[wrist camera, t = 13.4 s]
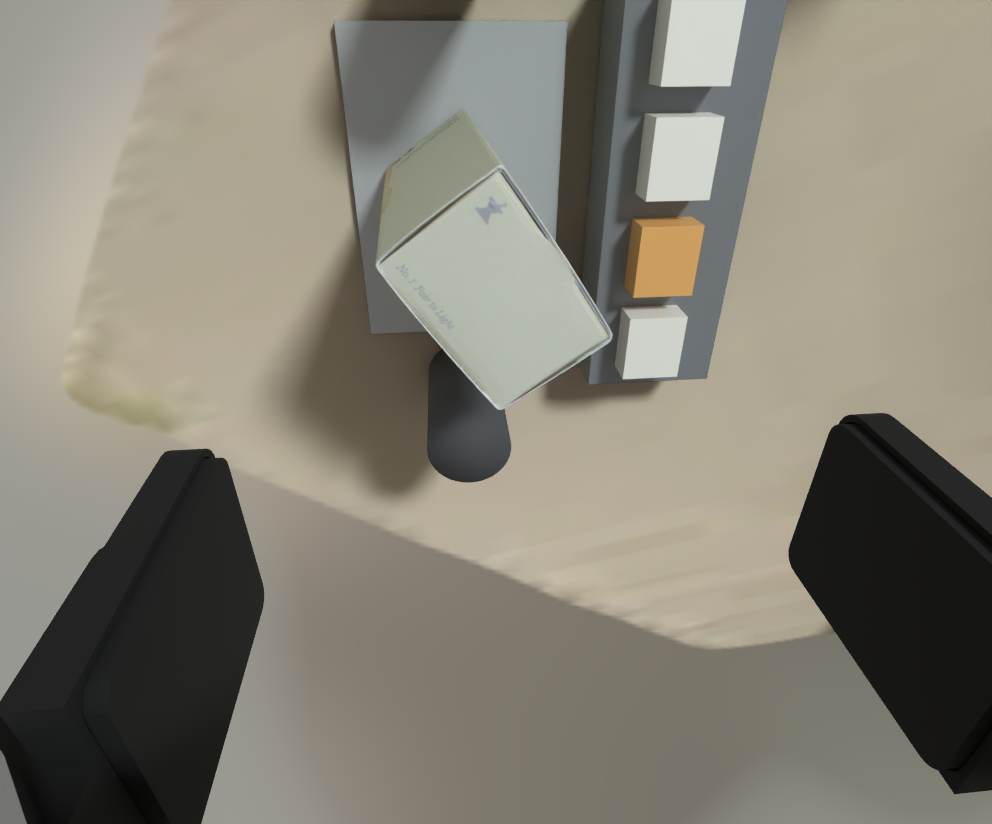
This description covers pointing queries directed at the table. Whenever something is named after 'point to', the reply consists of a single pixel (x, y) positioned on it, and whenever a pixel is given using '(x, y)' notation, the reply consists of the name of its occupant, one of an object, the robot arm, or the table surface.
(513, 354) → the skincare box
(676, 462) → the table surface
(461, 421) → the dark grey capsule
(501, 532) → the table surface
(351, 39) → the grey button panel
